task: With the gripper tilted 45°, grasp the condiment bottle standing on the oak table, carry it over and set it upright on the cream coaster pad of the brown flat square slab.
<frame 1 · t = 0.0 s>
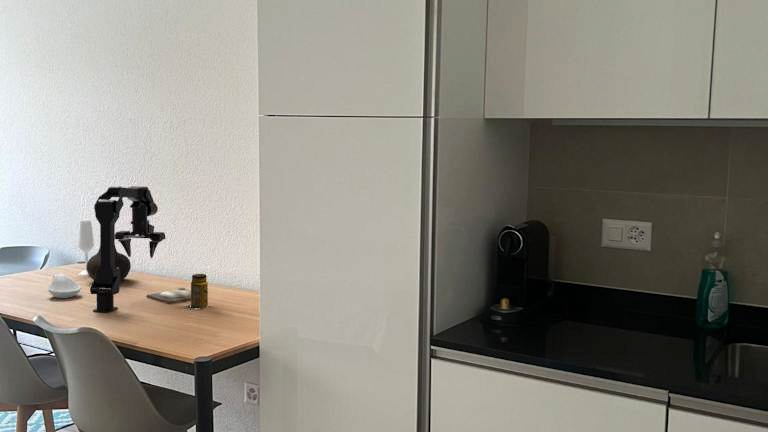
hand: (140, 257, 298), 15 cm above the table, tool pointing down, fingers open, 9 cm apart
brown flat square slab: (176, 297, 294), on the table
champagne flute: (87, 274, 339), on the table
spoon rest: (62, 294, 298), on the table
glass bottle: (109, 282, 322), on the table
condiment: (197, 307, 280), on the table
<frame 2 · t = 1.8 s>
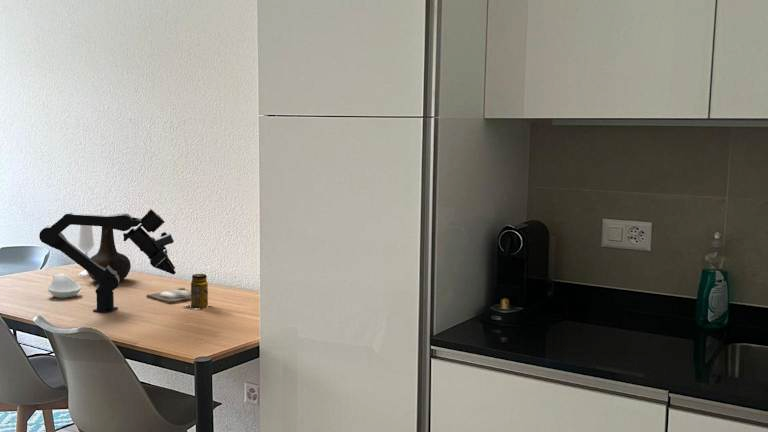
hand: (174, 271, 277), 13 cm above the table, tool tilted 45°, fingers open, 9 cm apart
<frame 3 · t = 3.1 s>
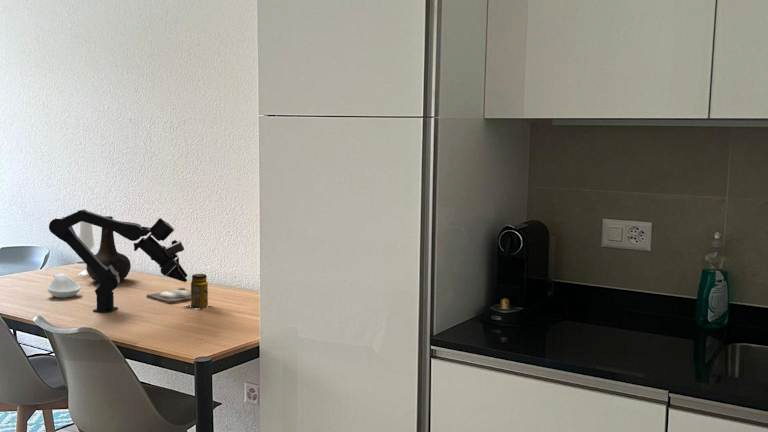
hand: (186, 278, 277), 11 cm above the table, tool tilted 45°, fingers open, 9 cm apart
nothing on the table moved.
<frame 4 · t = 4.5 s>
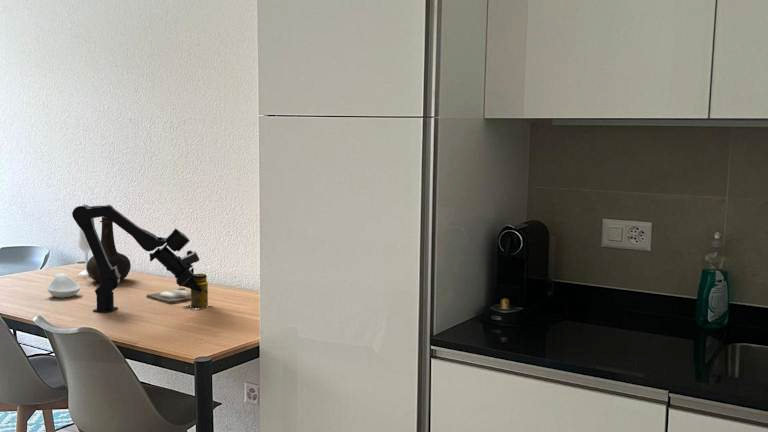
hand: (201, 289, 279), 7 cm above the table, tool tilted 45°, fingers open, 7 cm apart
condiment: (197, 307, 280), on the table, touching gripper
everything else where it was.
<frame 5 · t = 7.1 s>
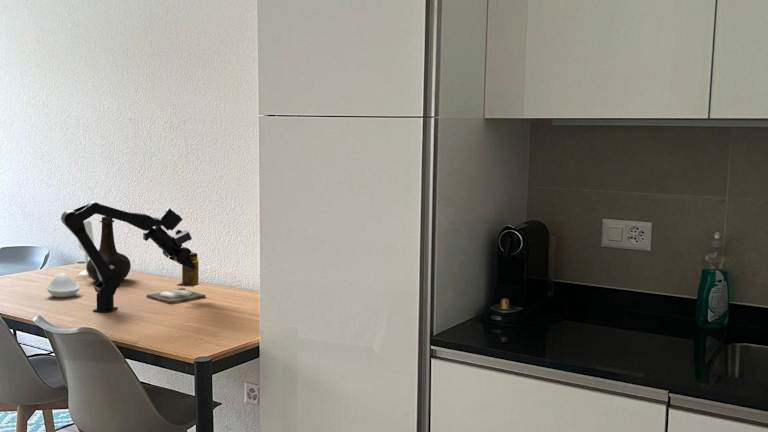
hand: (192, 266, 288), 13 cm above the table, tool tilted 45°, fingers closed on condiment, 6 cm apart
condiment: (189, 285, 287), point 6 cm above the table, touching gripper
when the fingers open (9 cm above the table, at t = 9.2 s): condiment drops 1 cm, resting on brown flat square slab.
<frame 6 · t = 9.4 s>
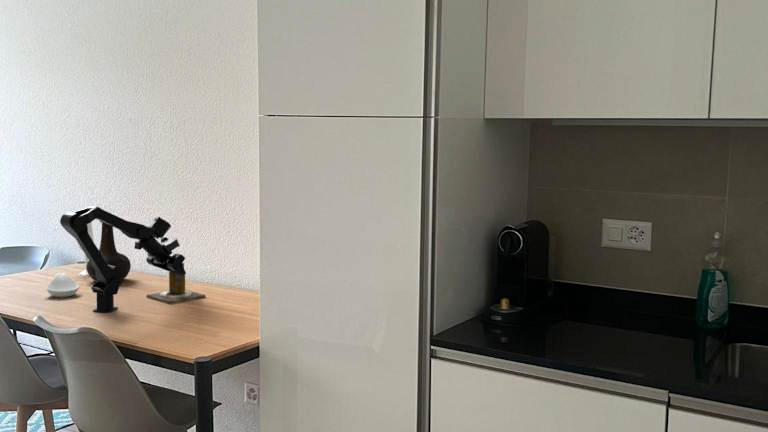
hand: (178, 272, 294), 10 cm above the table, tool tilted 45°, fingers open, 8 cm apart
condiment: (176, 294, 294), point 1 cm above the table, touching brown flat square slab
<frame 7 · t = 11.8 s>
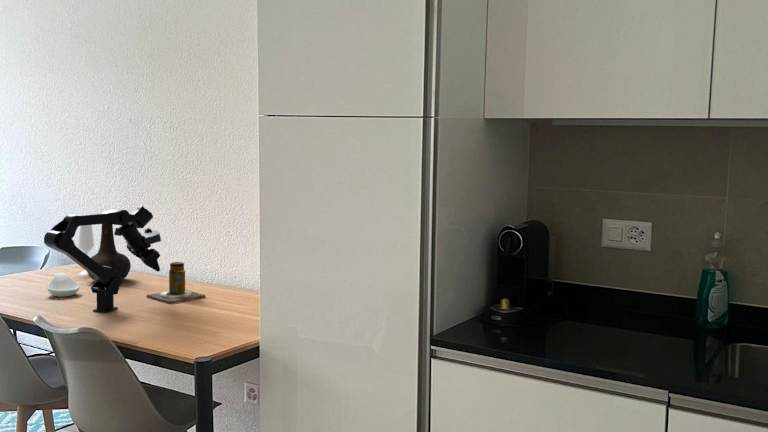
hand: (154, 266, 288), 13 cm above the table, tool tilted 35°, fingers open, 9 cm apart
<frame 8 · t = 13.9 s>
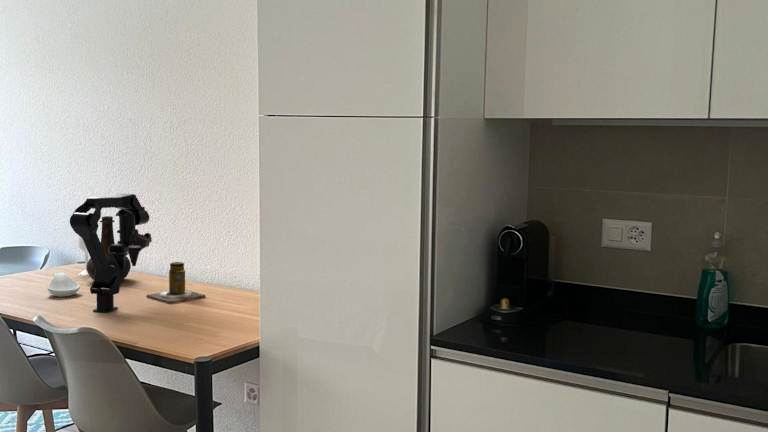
hand: (128, 268, 284), 13 cm above the table, tool pointing down, fingers open, 9 cm apart
at the end: condiment inside the target area on the brown flat square slab (0.6 cm from its centre), point 1.4 cm above the brown flat square slab's base; condiment tilted 0°; the gripper is holding nothing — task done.
